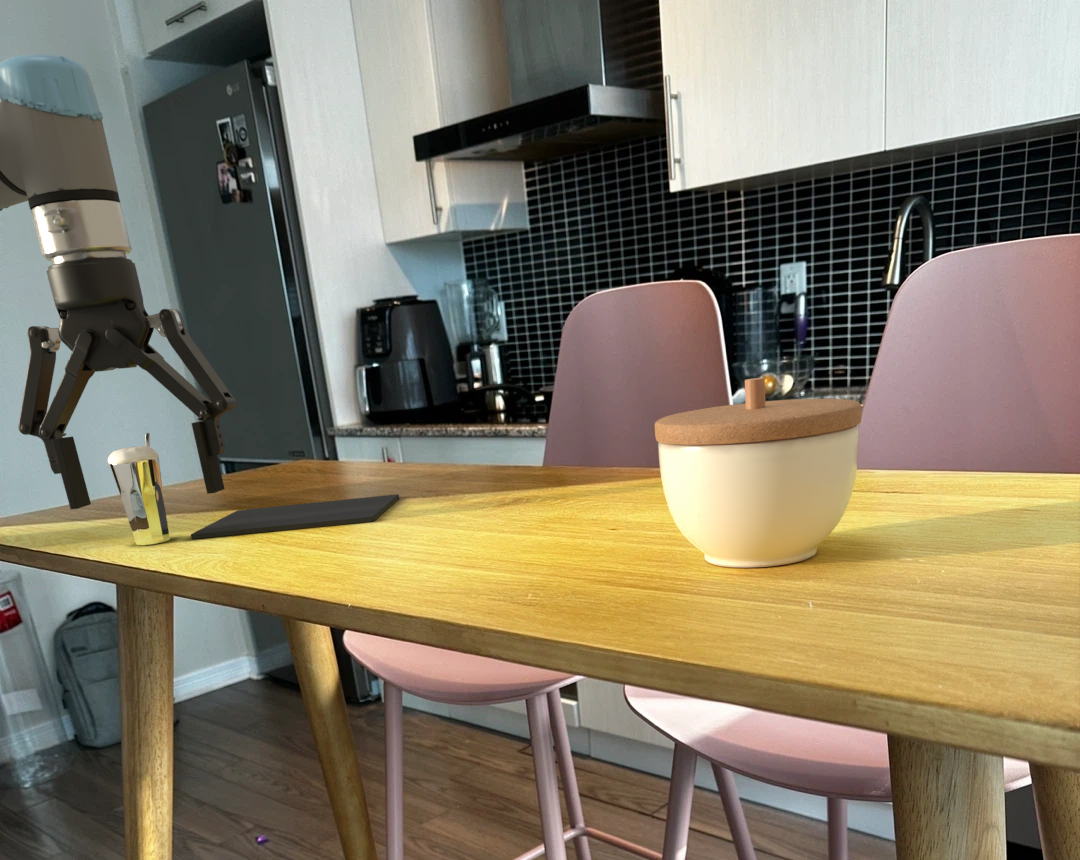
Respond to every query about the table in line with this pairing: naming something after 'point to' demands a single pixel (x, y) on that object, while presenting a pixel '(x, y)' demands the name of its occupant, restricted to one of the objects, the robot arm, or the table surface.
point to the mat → (298, 516)
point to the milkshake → (141, 492)
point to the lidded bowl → (759, 475)
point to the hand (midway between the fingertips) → (148, 499)
